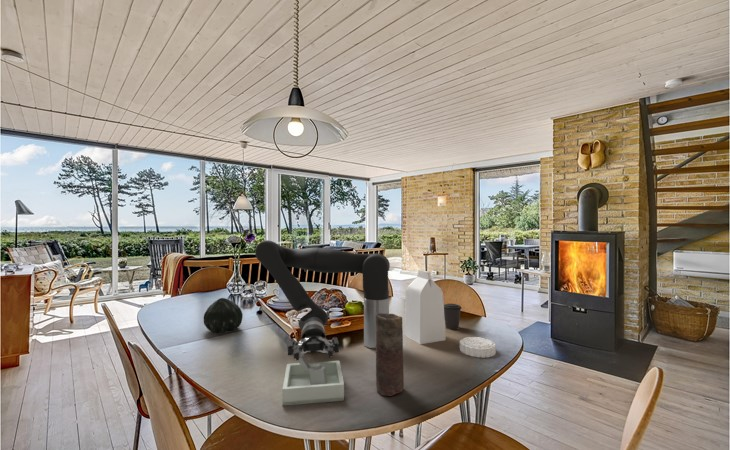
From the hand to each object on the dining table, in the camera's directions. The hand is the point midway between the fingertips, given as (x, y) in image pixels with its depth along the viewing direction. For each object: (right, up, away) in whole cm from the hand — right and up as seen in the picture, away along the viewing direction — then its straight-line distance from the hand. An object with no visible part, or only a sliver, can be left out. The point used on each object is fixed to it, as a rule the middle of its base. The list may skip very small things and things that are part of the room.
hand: (313, 355), depth 87 cm
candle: (+20, -10, +1) cm, 22 cm away
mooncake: (+53, -10, +29) cm, 61 cm away
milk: (+37, -10, +43) cm, 58 cm away
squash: (-46, -10, +51) cm, 69 cm away
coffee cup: (+51, -10, +56) cm, 76 cm away
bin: (0, -10, +2) cm, 10 cm away
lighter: (0, -9, +2) cm, 9 cm away
